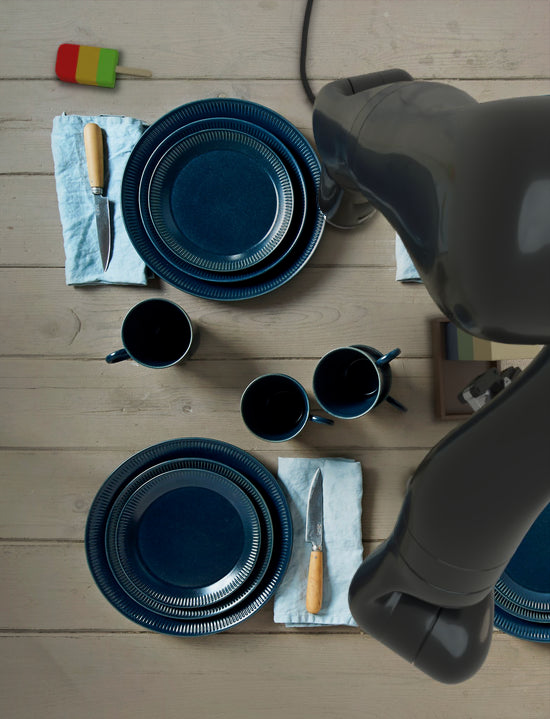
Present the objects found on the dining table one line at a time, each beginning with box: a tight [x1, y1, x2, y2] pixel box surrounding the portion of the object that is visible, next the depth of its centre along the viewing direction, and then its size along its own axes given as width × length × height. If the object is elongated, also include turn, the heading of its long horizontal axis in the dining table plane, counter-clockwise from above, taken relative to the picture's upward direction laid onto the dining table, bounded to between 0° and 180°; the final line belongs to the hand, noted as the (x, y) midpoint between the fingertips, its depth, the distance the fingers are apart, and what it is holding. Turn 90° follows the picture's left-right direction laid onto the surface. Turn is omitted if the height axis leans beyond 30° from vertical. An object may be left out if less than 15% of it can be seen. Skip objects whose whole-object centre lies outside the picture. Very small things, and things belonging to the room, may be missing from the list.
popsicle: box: [54, 42, 153, 89], centre depth 88 cm, size 6×15×2 cm, turn 82°
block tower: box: [444, 322, 541, 361], centre depth 76 cm, size 6×6×20 cm
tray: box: [430, 317, 502, 421], centre depth 86 cm, size 15×9×3 cm, turn 3°
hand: (532, 395), depth 65 cm, fingers closed on mulberry block, 6 cm apart
